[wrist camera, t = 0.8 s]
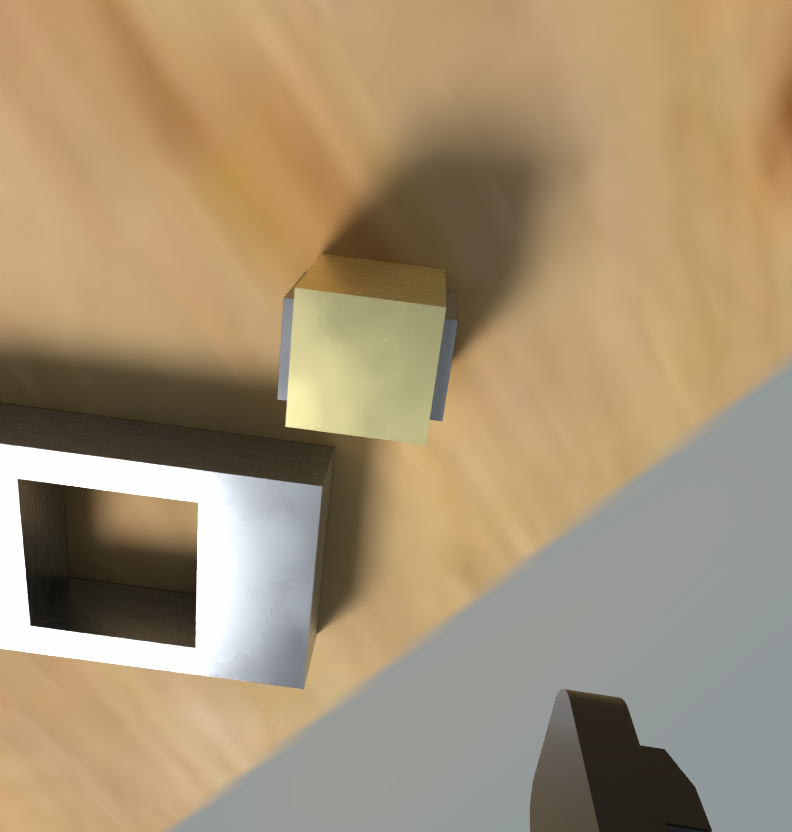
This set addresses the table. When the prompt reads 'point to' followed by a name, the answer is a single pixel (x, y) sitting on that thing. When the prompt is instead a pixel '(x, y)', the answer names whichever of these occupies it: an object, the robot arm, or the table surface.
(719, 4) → the table surface
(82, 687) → the table surface
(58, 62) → the table surface
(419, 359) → the brushed gold cube
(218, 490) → the silver slotted board
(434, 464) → the table surface
